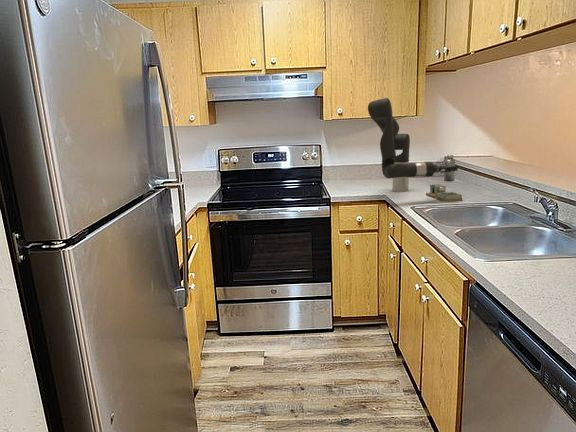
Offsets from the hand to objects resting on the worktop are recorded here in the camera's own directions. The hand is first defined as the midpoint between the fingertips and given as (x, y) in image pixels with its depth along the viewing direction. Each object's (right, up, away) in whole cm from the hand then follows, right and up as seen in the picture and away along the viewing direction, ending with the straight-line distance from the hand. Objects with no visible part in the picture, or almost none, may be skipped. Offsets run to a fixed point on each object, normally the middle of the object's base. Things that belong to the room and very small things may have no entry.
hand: (454, 167), depth 229 cm
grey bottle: (-2, -7, +1) cm, 7 cm away
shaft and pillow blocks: (-3, -12, +15) cm, 20 cm away
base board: (-2, -15, +9) cm, 18 cm away
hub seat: (-2, -15, +3) cm, 15 cm away
